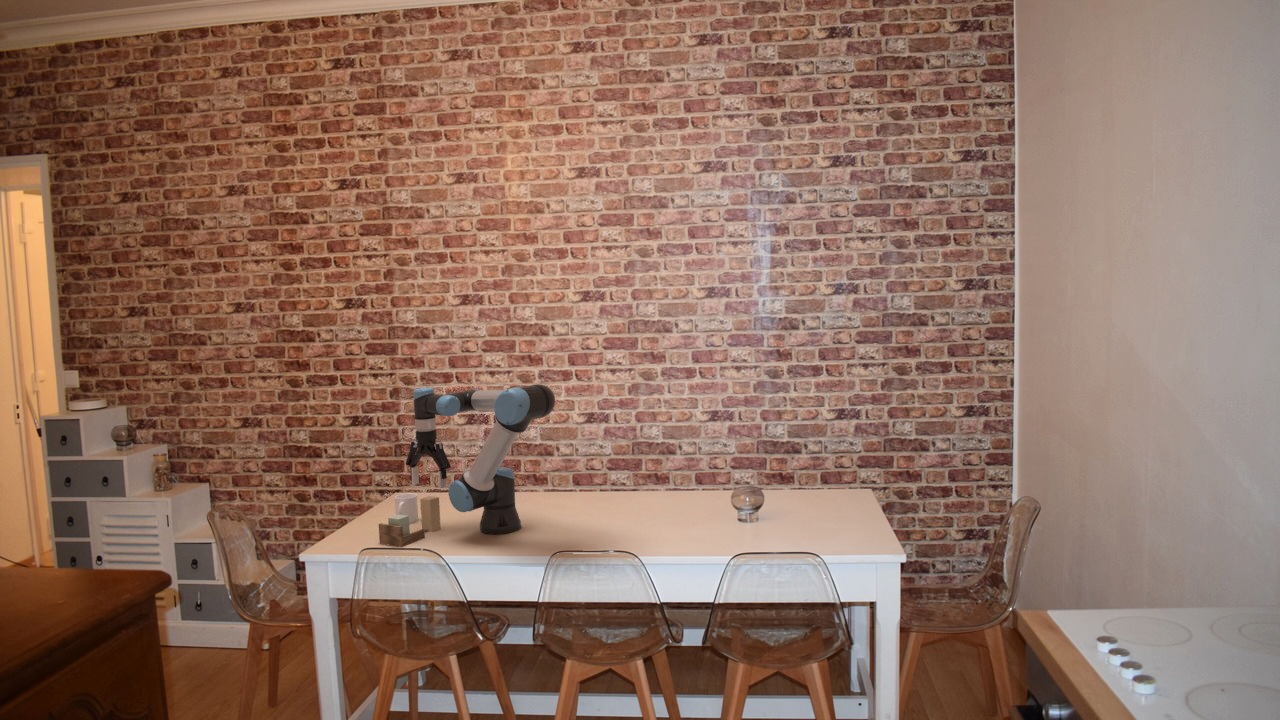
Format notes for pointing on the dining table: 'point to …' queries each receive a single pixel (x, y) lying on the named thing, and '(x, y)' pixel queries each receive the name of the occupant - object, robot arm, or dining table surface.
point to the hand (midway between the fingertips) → (429, 485)
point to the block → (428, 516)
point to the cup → (407, 506)
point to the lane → (397, 535)
